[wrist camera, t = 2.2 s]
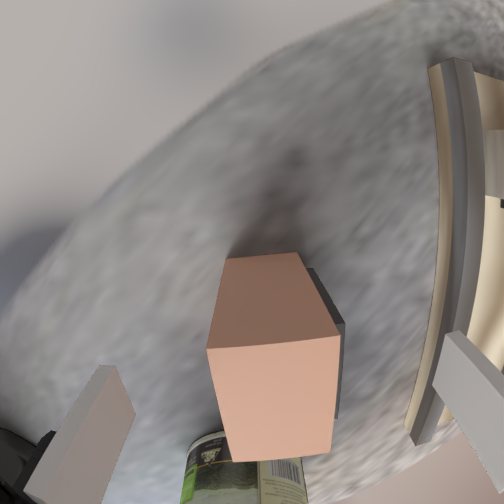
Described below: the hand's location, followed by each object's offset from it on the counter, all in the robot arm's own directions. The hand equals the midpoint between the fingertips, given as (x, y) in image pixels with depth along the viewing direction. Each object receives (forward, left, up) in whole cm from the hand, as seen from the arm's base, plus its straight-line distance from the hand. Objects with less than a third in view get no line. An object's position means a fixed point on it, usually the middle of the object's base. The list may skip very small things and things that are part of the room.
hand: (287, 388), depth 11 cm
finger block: (0, 0, -8) cm, 8 cm away
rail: (+17, 0, -8) cm, 18 cm away
